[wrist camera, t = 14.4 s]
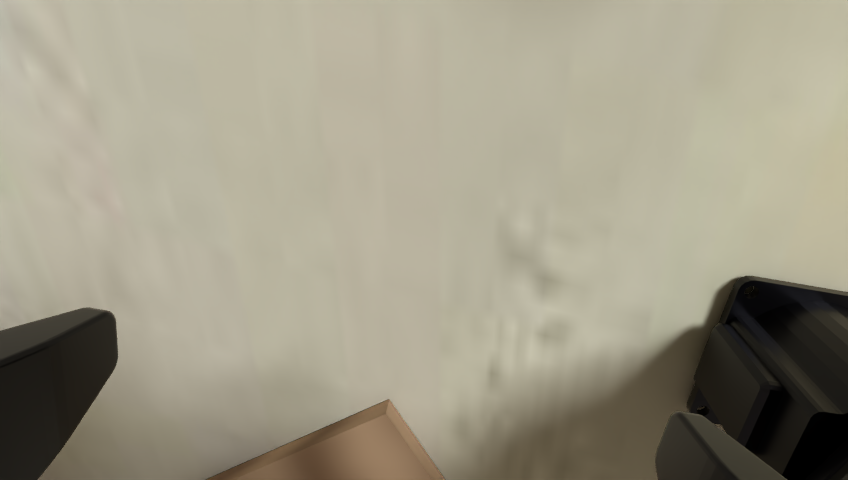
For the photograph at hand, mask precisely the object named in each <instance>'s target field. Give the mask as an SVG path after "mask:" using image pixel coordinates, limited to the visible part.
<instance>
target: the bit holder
mask: <svg viewBox="0 0 848 480" xmlns="http://www.w3.org/2000/svg"><path fill="white" fill-rule="evenodd" d="M206 480H445V479H444V477H443V476H442V474H441V473H440V471H439V470H438V469H437V467H436V466H435V464H434V463H433V461H432V460H431V459H430V457H429V456H428V454H427V453H426V451H425V450H424V448H423V447H422V446H421V444H420V443H419V441H418V440H417V438H416V437H415V436H414V434H413V433H412V431H411V430H410V428H409V427H408V425H407V424H406V423H405V421H404V420H403V418H402V417H401V415H400V414H399V413H398V411H397V410H396V408H395V407H394V405H393V404H392V402H391V401H390V400H386V401H384V402H382V403H380V404H377V405H375V406H373V407H370V408H368V409H366V410H364V411H361V412H359V413H357V414H354V415H352V416H350V417H348V418H345V419H343V420H341V421H338V422H336V423H334V424H332V425H329V426H327V427H325V428H322V429H320V430H318V431H316V432H313V433H311V434H309V435H307V436H304V437H302V438H300V439H297V440H295V441H293V442H291V443H288V444H286V445H284V446H281V447H279V448H277V449H275V450H272V451H270V452H268V453H265V454H263V455H261V456H259V457H256V458H254V459H252V460H250V461H247V462H245V463H243V464H240V465H238V466H236V467H234V468H231V469H229V470H227V471H224V472H222V473H220V474H218V475H215V476H213V477H211V478H208V479H206Z"/></svg>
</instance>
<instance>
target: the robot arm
mask: <svg viewBox="0 0 848 480" xmlns="http://www.w3.org/2000/svg"><path fill="white" fill-rule="evenodd" d="M750 286H754V289H753V290H752V292H750V293H748V294H744V293H745V290H746V289H747V288H748V287H750ZM117 359H118V346H117V330H116V319H115V317H114V315H113V314H112V313H111V312H110V311H106V310H100V309H94V308H81V309H78V310H74V311H71V312H67V313H63V314H60V315H56V316H52V317H49V318H45V319H41V320H38V321H34V322H31V323H27V324H23V325H20V326H16V327H12V328H9V329H5V330H2V331H0V480H38V478H39V477H40V476H41V475H42V473H43V472H44V471H45V470H46V468H47V467H48V466H49V465H50V463H51V462H52V461H53V460H54V458H55V457H56V456H57V454H58V453H59V452H60V450H61V449H62V448H63V446H64V445H65V443H66V442H67V441H68V439H69V438H70V436H71V435H72V433H73V432H74V430H75V429H76V427H77V426H78V424H79V423H80V421H81V420H82V418H83V416H84V415H85V413H86V412H87V410H88V409H89V407H90V406H91V404H92V403H93V401H94V400H95V398H96V397H97V395H98V394H99V392H100V391H101V389H102V387H103V386H104V384H105V383H106V381H107V380H108V378H109V377H110V375H111V374H112V372H113V370H114V369H115V366H116V363H117ZM694 380H695V385H694V387H693V390H692V392H691V395H690V397H689V400H688V402H687V409H688V411H689V413H688V412H682V411H676V412H674V413H673V414H672V415H671V416H670V418H669V420H668V423H667V426H666V428H665V431H664V433H663V436H662V439H661V441H660V444H659V446H658V449H657V452H656V459H655V463H656V471H657V477H658V480H848V292H843V291H837V290H832V289H826V288H820V287H814V286H808V285H802V284H796V283H790V282H785V281H779V280H773V279H767V278H761V277H755V276H745V277H742V278H740V279H739V280H737V281H736V283H735V284H734V286H733V289H732V291H731V294H730V296H729V299H728V301H727V304H726V306H725V309H724V311H723V314H722V316H721V319H720V321H719V324H717V325H716V326H715V327H714V328H713V330H712V332H711V335H710V337H709V340H708V342H707V345H706V347H705V350H704V352H703V355H702V358H701V360H700V363H699V365H698V368H697V370H696V373H695V375H694ZM700 406H705V407H704V408H703V409H701V410H697V409H698V407H700ZM713 423H714V424H720V425H722V426H723V428H724V430H725V431H726V433H727V434H726V433H725V432H724V431H722V430H721V429H720V428H718V427H717V426H716V425H714V424H713Z"/></svg>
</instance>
